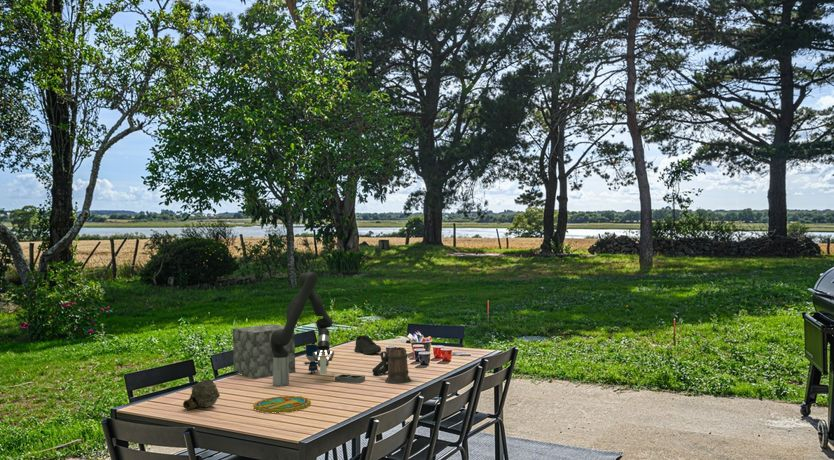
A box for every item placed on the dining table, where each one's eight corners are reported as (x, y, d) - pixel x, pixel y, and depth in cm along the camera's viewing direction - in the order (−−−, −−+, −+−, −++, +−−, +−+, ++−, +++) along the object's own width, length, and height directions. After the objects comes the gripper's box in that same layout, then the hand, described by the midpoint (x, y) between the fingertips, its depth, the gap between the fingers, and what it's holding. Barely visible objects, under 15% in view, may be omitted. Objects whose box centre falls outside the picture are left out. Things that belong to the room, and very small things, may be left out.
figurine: (323, 371, 442) (323, 341, 442) (320, 374, 432) (319, 344, 432) (305, 371, 443) (304, 342, 443) (301, 374, 433) (300, 344, 434)
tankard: (416, 379, 410) (416, 347, 410) (402, 384, 396) (402, 351, 396) (385, 376, 422) (384, 345, 422) (370, 381, 407) (369, 349, 407)
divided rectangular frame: (358, 383, 403) (358, 378, 403) (334, 381, 410) (334, 376, 410) (365, 380, 410) (364, 375, 410) (341, 379, 417) (341, 374, 417)
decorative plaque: (277, 412, 331) (241, 403, 350) (277, 417, 331) (241, 408, 350) (322, 399, 354) (286, 392, 373) (322, 404, 354) (286, 397, 373)
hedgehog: (216, 373, 360) (192, 373, 348) (224, 395, 352) (199, 396, 340) (199, 393, 366) (174, 394, 355) (206, 415, 358) (182, 417, 347)
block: (254, 379, 424) (253, 332, 424) (233, 373, 446) (232, 328, 447) (295, 372, 444) (294, 327, 444) (273, 366, 466) (272, 324, 466)
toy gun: (403, 365, 440) (392, 348, 436) (407, 366, 436) (396, 349, 431) (380, 386, 430) (369, 369, 426) (384, 388, 425) (372, 370, 421)
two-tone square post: (326, 374, 407) (326, 355, 408) (320, 374, 407) (319, 356, 407) (326, 372, 411) (326, 354, 412) (320, 373, 411) (320, 355, 411)
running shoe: (373, 356, 495) (372, 338, 495) (349, 352, 517) (349, 334, 517) (385, 354, 503) (384, 336, 503) (361, 350, 525) (360, 333, 525)
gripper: (312, 340, 416) (311, 362, 404) (334, 339, 418) (334, 362, 406) (312, 347, 422) (311, 369, 409) (335, 346, 423) (334, 369, 411)
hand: (323, 365), depth 407 cm, fingers closed on two-tone square post, 4 cm apart
